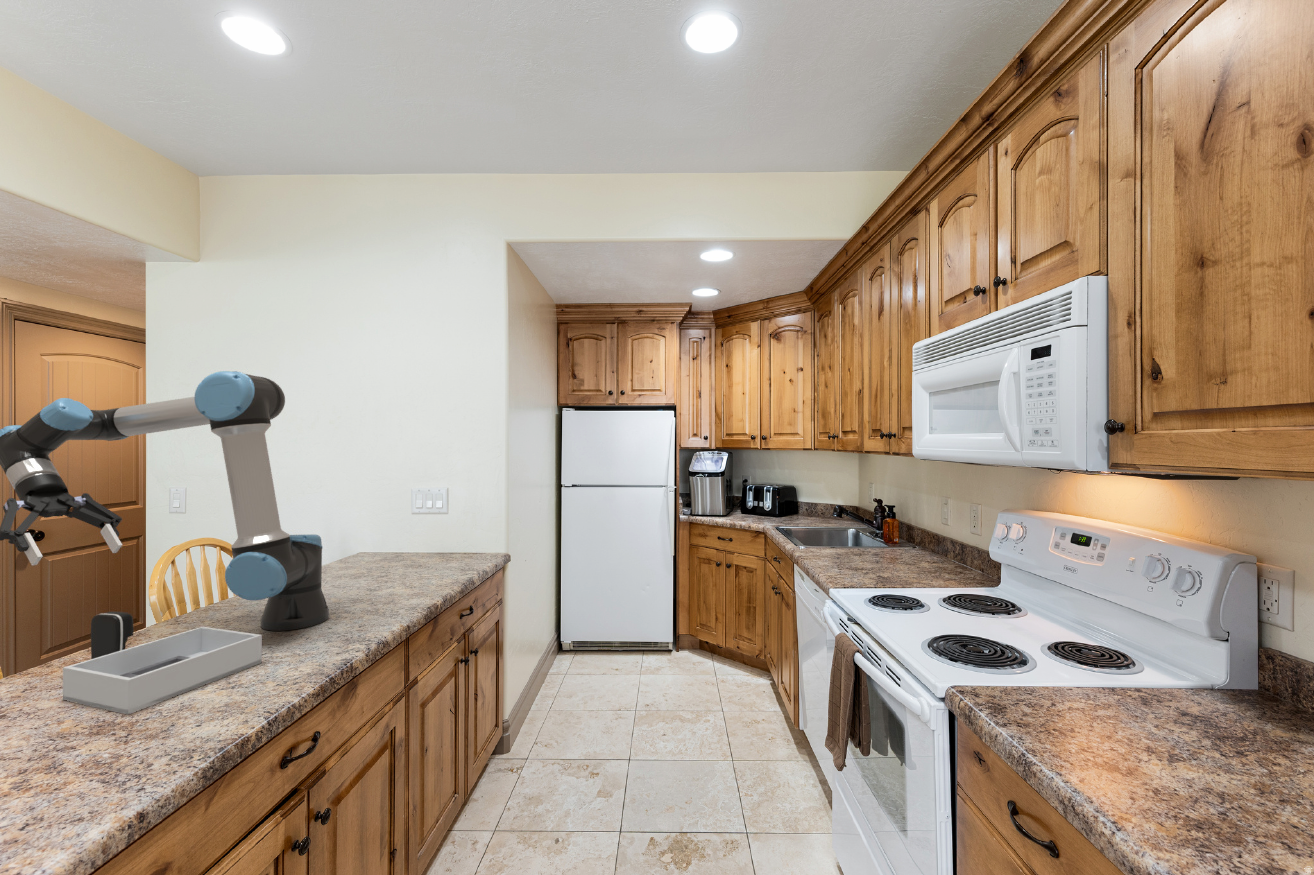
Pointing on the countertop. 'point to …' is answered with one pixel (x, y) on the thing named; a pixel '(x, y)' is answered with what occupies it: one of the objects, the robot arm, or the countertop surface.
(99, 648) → the battery charger
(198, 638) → the bin
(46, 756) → the countertop surface
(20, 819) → the countertop surface
